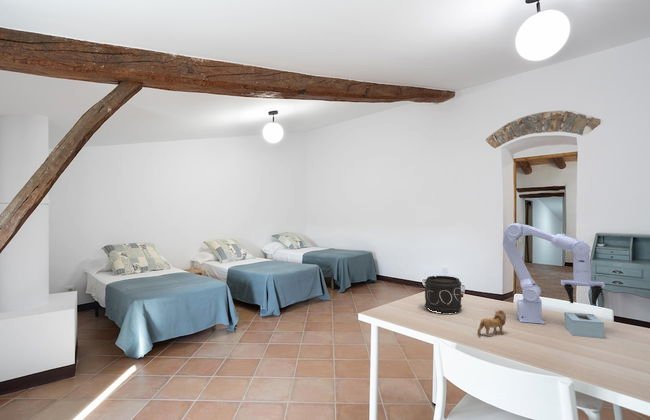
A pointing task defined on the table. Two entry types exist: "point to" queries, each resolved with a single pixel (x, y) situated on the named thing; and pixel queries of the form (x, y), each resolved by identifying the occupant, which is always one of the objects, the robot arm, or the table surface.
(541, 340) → the table surface
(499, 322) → the lion figurine
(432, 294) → the black lettered canister
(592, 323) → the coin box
